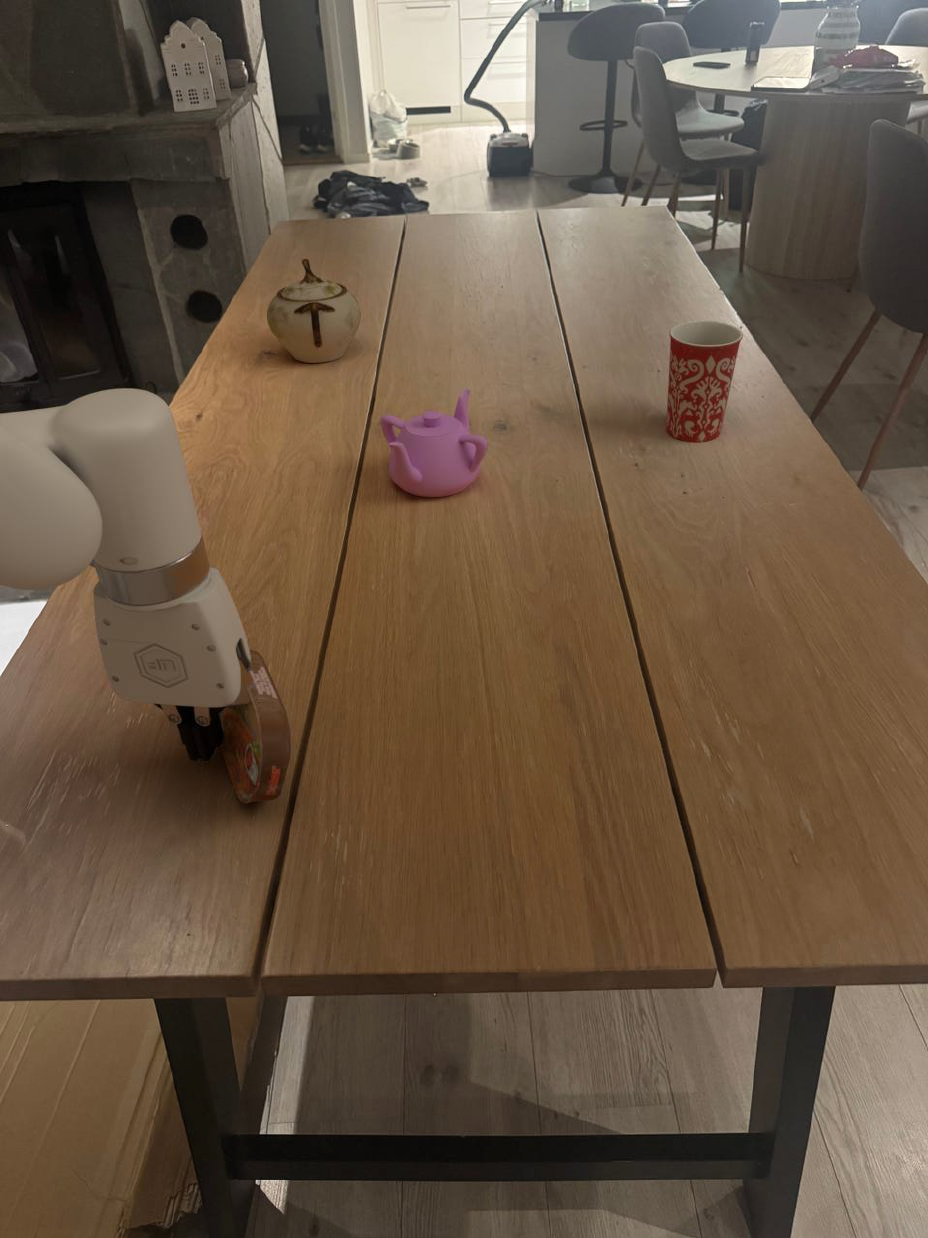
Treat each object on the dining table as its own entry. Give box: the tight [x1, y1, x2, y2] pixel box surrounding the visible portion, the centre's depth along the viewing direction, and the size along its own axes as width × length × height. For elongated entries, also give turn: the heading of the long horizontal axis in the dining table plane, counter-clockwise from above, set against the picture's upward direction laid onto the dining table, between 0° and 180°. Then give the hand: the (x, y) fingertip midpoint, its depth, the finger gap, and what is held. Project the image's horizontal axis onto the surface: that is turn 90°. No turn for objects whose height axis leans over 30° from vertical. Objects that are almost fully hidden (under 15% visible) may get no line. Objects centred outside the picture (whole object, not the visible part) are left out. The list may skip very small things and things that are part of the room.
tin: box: [219, 649, 292, 804], centre depth 75 cm, size 15×3×8 cm, turn 23°
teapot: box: [380, 389, 489, 498], centre depth 114 cm, size 12×14×9 cm
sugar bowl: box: [266, 258, 362, 364], centre depth 148 cm, size 20×15×15 cm
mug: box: [665, 320, 744, 443], centre depth 122 cm, size 13×9×14 cm
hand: (206, 749), depth 77 cm, fingers closed
